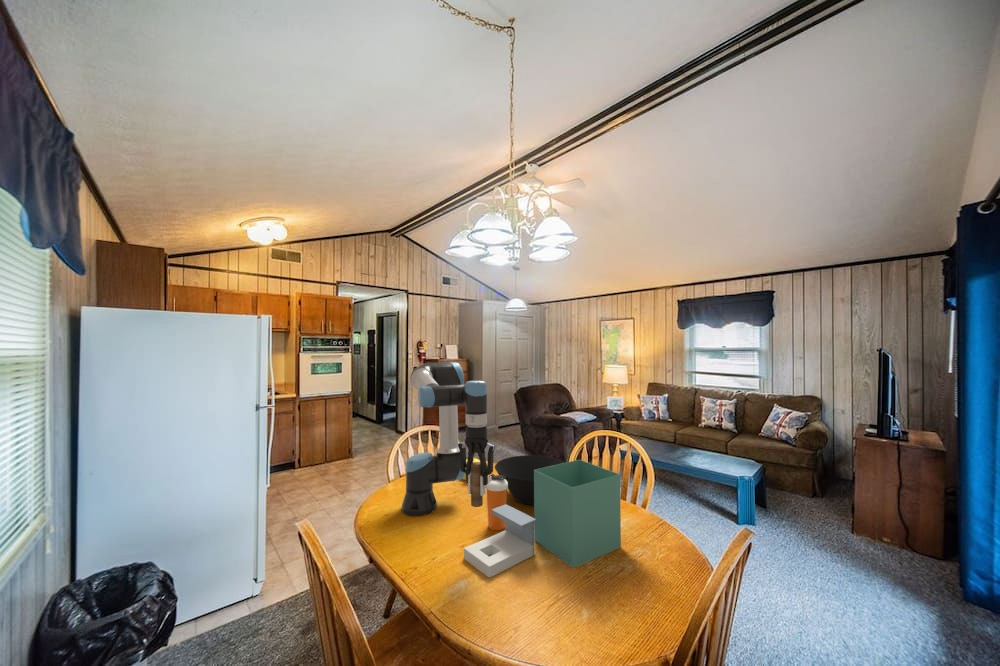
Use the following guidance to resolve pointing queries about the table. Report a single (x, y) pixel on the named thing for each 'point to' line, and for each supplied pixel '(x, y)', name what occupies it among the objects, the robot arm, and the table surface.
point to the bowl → (523, 474)
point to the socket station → (504, 543)
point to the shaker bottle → (496, 499)
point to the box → (577, 511)
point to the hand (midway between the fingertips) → (476, 493)
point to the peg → (476, 485)
